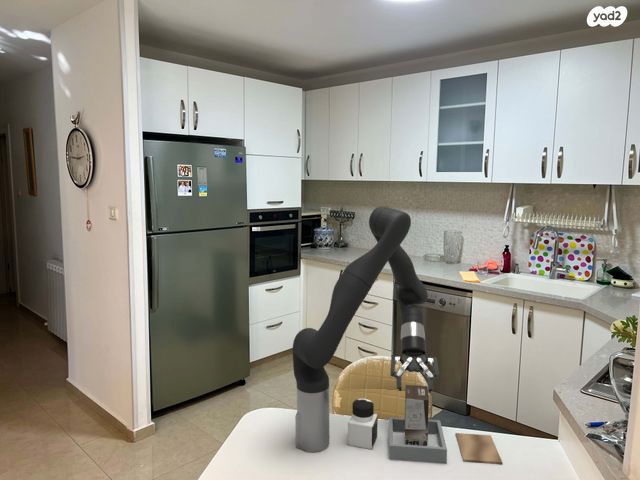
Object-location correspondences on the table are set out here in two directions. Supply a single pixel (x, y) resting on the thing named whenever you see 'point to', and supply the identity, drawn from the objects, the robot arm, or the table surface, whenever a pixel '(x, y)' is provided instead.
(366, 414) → the medicine bottle
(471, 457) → the pad
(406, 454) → the bin
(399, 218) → the robot arm
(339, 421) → the table surface
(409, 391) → the coffee box
